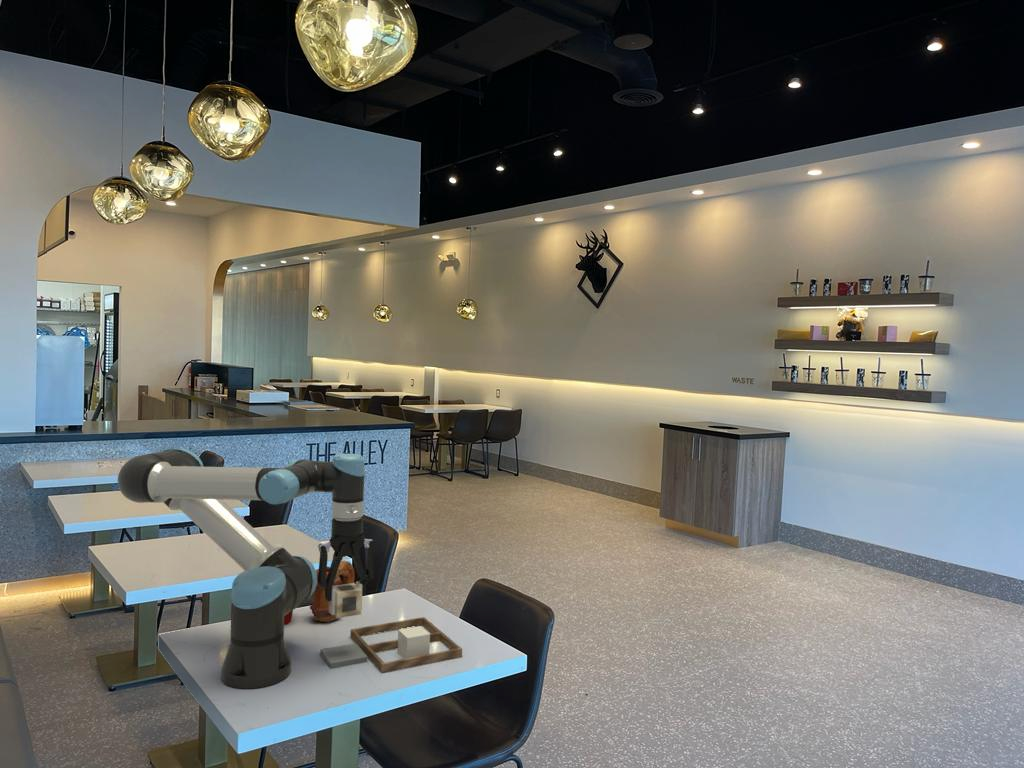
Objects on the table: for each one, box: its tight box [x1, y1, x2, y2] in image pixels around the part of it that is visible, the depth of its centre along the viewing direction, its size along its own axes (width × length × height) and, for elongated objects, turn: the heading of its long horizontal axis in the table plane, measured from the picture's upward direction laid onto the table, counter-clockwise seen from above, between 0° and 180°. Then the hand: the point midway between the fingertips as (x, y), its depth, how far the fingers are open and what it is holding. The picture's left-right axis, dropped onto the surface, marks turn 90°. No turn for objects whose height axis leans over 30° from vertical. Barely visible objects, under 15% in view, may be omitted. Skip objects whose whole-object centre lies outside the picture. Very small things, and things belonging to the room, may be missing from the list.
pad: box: [319, 642, 368, 669], centre depth 175 cm, size 9×9×1 cm
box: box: [349, 616, 463, 674], centre depth 183 cm, size 21×24×2 cm
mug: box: [309, 559, 356, 623], centre depth 202 cm, size 15×8×15 cm, turn 147°
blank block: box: [397, 626, 431, 659], centre depth 178 cm, size 6×6×6 cm
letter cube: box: [334, 582, 363, 619], centre depth 175 cm, size 6×6×6 cm
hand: (345, 611), depth 175 cm, fingers closed on letter cube, 6 cm apart
